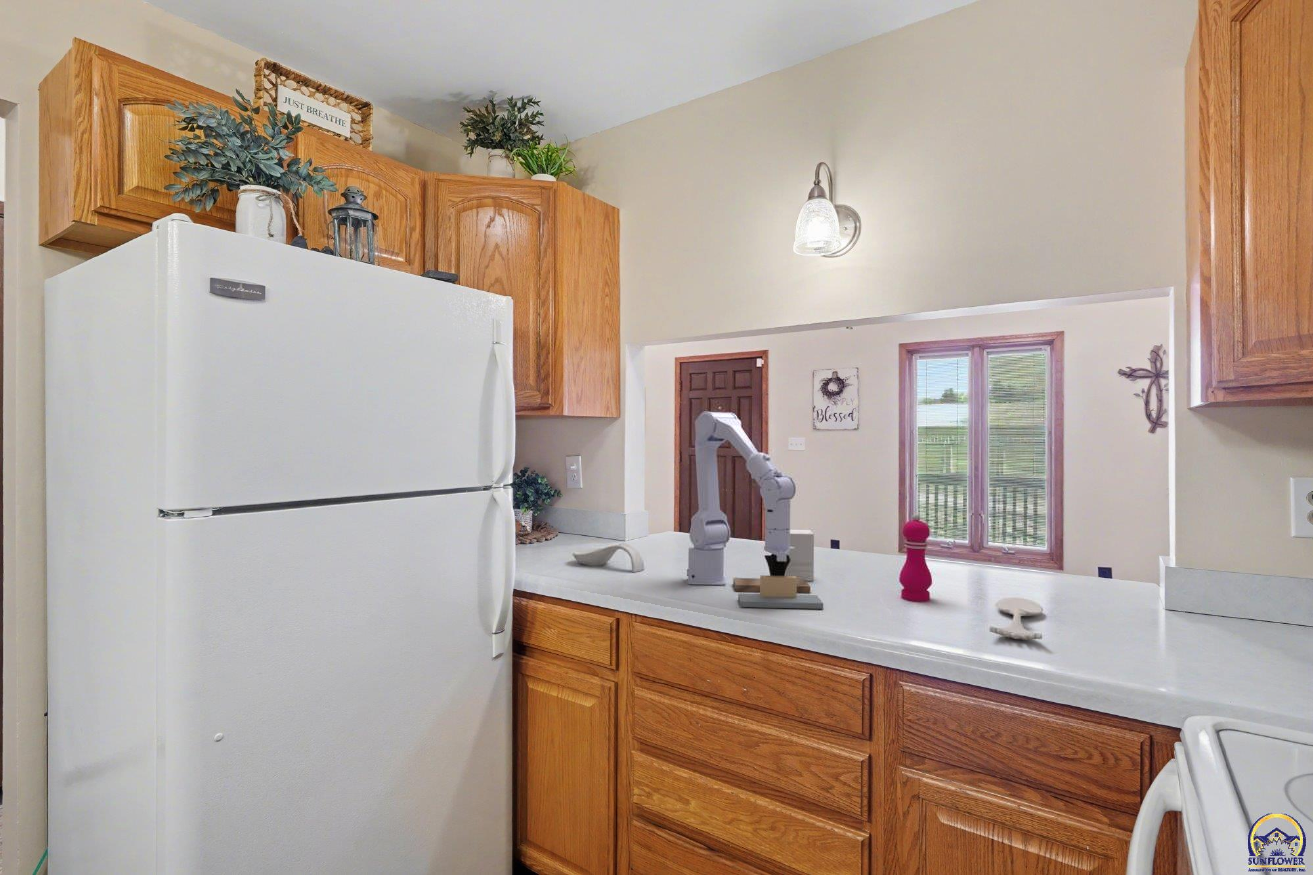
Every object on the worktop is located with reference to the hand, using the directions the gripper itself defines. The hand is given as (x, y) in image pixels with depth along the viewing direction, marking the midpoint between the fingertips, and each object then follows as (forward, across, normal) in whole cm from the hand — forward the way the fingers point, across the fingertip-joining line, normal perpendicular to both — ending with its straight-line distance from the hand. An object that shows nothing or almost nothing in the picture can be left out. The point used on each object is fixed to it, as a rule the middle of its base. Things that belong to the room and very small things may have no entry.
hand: (776, 586), depth 152 cm
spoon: (+3, -17, -46) cm, 49 cm away
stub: (+3, -5, 0) cm, 5 cm away
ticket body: (+3, +11, 0) cm, 11 cm away
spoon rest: (+3, +35, +44) cm, 56 cm away
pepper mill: (+3, +4, -33) cm, 33 cm away
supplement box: (+3, +24, -9) cm, 25 cm away
